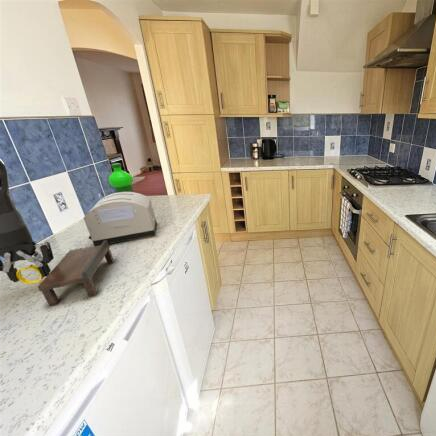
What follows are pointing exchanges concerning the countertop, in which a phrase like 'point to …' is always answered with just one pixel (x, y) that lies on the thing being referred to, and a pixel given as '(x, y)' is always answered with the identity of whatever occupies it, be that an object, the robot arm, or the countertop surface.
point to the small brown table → (76, 271)
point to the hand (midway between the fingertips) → (32, 277)
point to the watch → (25, 267)
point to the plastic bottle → (120, 179)
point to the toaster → (121, 218)
